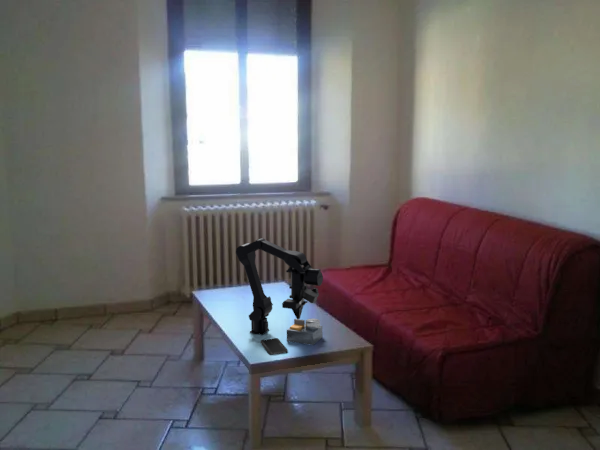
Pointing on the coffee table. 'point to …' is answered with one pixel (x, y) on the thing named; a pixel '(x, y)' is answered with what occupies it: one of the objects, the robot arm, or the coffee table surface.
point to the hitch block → (304, 335)
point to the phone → (273, 346)
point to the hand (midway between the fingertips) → (298, 318)
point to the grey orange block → (298, 324)
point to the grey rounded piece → (312, 324)
